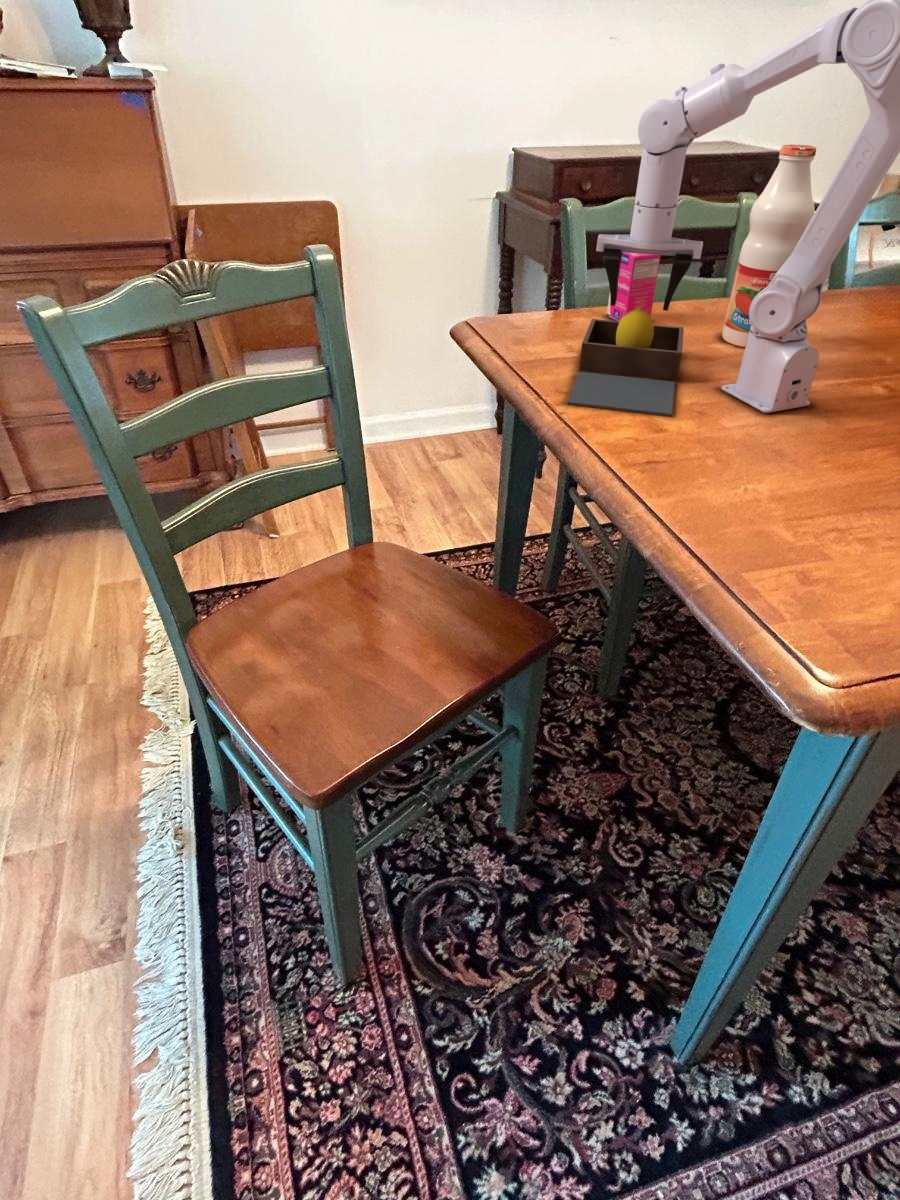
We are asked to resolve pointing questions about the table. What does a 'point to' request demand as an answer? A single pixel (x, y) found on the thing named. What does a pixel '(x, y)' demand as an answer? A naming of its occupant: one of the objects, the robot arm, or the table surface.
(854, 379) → the table surface
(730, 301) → the fruit juice
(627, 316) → the lemon
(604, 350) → the dark brown shallow box
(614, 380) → the placemat
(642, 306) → the supplement box
